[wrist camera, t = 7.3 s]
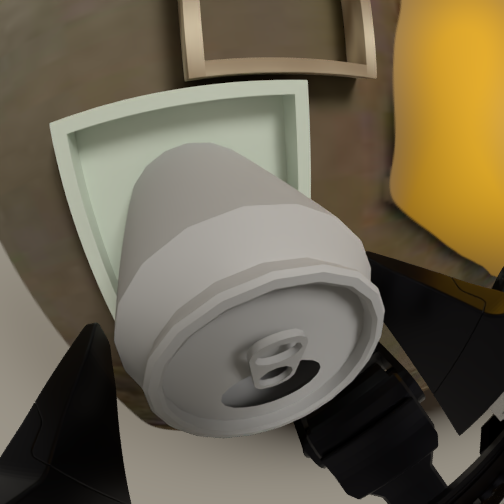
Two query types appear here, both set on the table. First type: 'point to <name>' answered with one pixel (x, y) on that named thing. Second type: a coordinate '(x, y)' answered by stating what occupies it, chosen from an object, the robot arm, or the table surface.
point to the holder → (357, 53)
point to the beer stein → (499, 282)
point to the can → (238, 296)
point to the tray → (165, 138)
